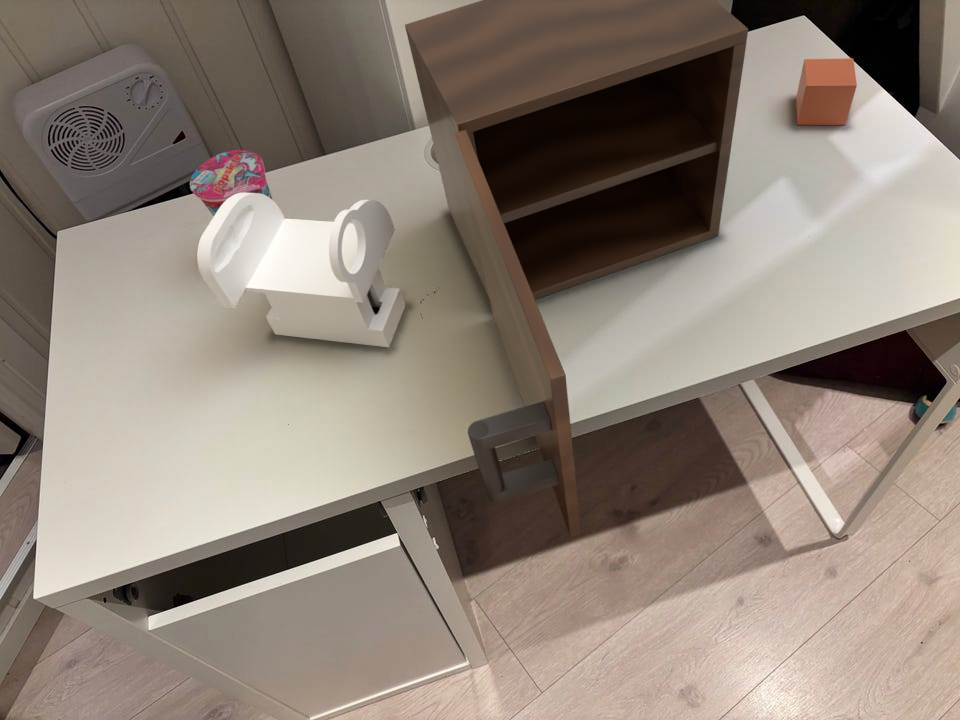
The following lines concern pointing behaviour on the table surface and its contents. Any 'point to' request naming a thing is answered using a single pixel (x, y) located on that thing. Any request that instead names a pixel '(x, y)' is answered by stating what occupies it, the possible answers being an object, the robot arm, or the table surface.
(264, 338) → the table surface
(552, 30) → the cupboard
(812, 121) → the block
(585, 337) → the table surface
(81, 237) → the table surface
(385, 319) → the tape dispenser
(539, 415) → the cupboard door
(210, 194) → the cup
